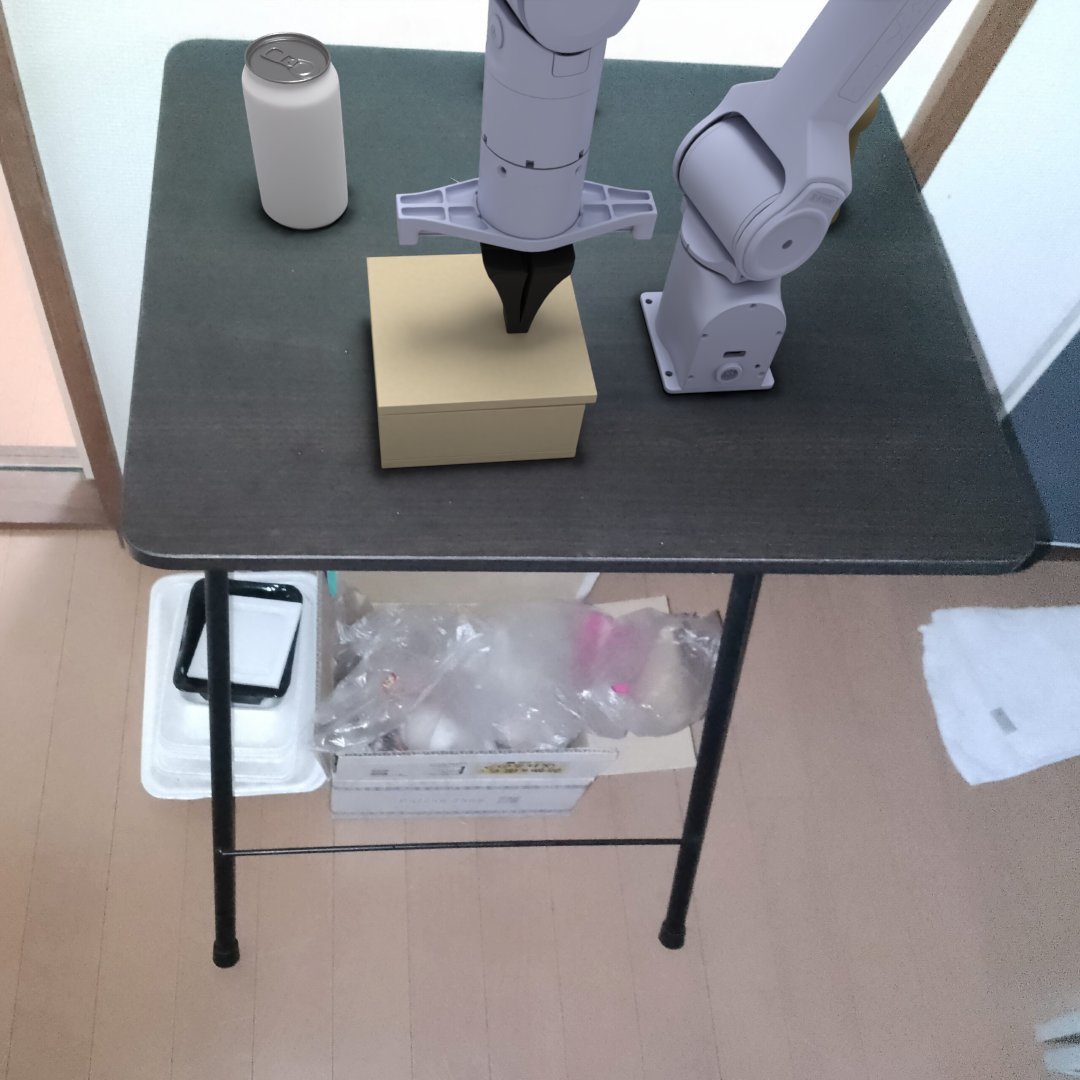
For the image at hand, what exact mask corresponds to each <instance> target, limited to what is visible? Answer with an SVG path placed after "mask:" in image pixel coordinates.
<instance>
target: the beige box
mask: <svg viewBox="0 0 1080 1080" xmlns="http://www.w3.org/2000/svg"><path fill="white" fill-rule="evenodd" d="M366 272H367V274H368V271H366ZM367 286H368V287H367V288H368V290H369V284H368V283H367ZM368 301H369V306H370V297H369V296H368ZM369 319H370V335H371V345H372V346H371V347H372V358H373V360H372V361H373V371H374V372H373V373H374V383H375V384H374V387H375V398H376V411H377V422H378V423H377V425H378V437H379V438H378V439H379V449H380V451H379V452H380V462H381V464H380V465H381V469H392V468H393V469H394V468H395V469H396V468H413V467H428V466H429V467H430V466H444V465H445V466H446V465H447V466H448V465H462V464H463V465H464V464H480V463H496V462H497V463H498V462H513V461H529V460H530V461H531V460H548V459H549V460H550V459H565V458H575V457H576V452H577V446H578V441H579V437H580V432H581V428H582V423H583V419H584V415H585V409H586V403H583V404H565V405H547V406H530V407H512V408H494V409H477V410H459V411H441V412H424V413H406V414H388V415H379V413H378V400H377V387H376V374H375V361H374V349H373V336H372V323H371V310H370V309H369Z"/></svg>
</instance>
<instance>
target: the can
mask: <svg viewBox="0 0 1080 1080" xmlns="http://www.w3.org/2000/svg"><path fill="white" fill-rule="evenodd" d="M243 60H244V66H243V69H242V72H241V87H242V94H243V100H244V106H245V112H246V119H247V125H248V131H249V137H250V142H251V149H252V155H253V161H254V168H255V172H256V179H257V185H258V189H259V195H260V201H261V205H262V208H263V210H264V212H265V213H266V214H267V215H268V217H270V218H271V219H272V220H274V221H275V222H276V223H278V224H280V225H282V226H283V227H287V228H289V229H294V230H299V231H309V230H311V231H312V230H317V229H321V228H325V227H328V226H329V225H331V224H333V223H334V222H335V221H337V220H338V219H339V218H340V217H341V216H342V215H343V214H344V212H345V211H346V209H347V207H348V203H349V191H348V178H347V177H348V176H347V164H346V152H345V150H346V149H345V137H344V125H343V112H342V100H341V89H340V88H341V87H340V80H339V79H340V78H339V75H338V71H337V70H336V68H335V66H334V64H333V63H332V55H331V52H330V50H329V48H328V47H327V46H326V45H325V44H324V43H323V42H322V41H321V40H318V39H317V38H315V37H313V36H310V35H308V34H305V33H300V32H293V31H280V32H273V33H269V34H265V35H262V36H260V37H258V38H256V39H254V40H252V42H250V43H249V44H248V46H247V47H246V49H245V50H244V53H243Z"/></svg>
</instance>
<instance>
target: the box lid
mask: <svg viewBox="0 0 1080 1080" xmlns="http://www.w3.org/2000/svg"><path fill="white" fill-rule="evenodd" d="M366 268H367V269H366V270H367V271H368V273H367V285H368V284H369V289H368V298H369V297H370V305H369V311H370V310H371V321H370V324H371V323H372V334H371V337H372V336H373V347H372V350H373V349H374V360H373V362H374V361H375V373H374V375H375V374H376V386H375V388H376V387H377V399H376V401H377V400H378V412H377V414H378V413H379V415H388V414H406V413H424V412H441V411H459V410H477V409H494V408H512V407H530V406H547V405H565V404H583V403H585V404H595V403H597V398H598V392H597V387H596V383H595V377H594V374H593V370H592V369H593V368H592V365H591V364H592V363H591V359H590V356H589V352H588V348H587V343H586V338H585V333H584V330H583V325H582V321H581V317H580V311H579V307H578V303H577V299H576V295H575V289H574V285H573V282H572V276H571V274H570V275H569V276H568V277H567V278H565V279H564V280H562V281H561V282H560V283H559V284H558V285H557V286H556V287H555V288H554V289H553V290H552V291H551V293H550V294H549V295H548V296H547V298H546V299H545V300H544V302H543V303H542V305H541V307H540V308H539V310H538V312H537V314H536V315H535V317H534V319H533V321H532V324H531V326H530V328H529V331H528V332H527V333H516V334H508V333H507V332H506V326H505V321H504V315H503V304H502V301H501V298H500V296H499V294H498V292H497V290H496V288H495V286H494V284H493V283H492V281H491V280H490V278H489V277H488V275H487V272H486V270H485V267H484V264H483V259H482V253H463V254H461V253H460V254H459V253H457V254H431V255H430V254H429V255H401V256H397V255H396V256H368V257H366ZM367 271H366V272H367Z"/></svg>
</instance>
